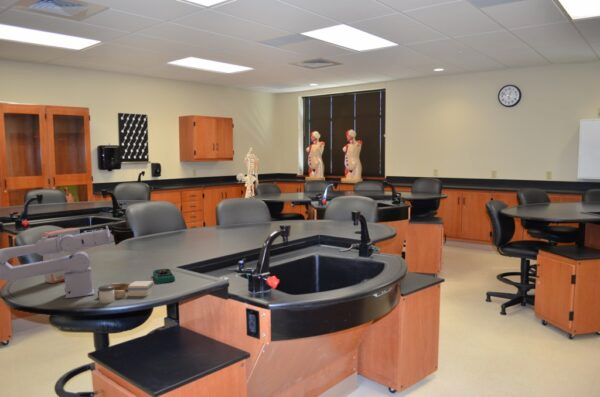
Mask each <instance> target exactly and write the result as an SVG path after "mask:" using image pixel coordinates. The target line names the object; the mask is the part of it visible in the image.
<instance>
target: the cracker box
mask: <svg viewBox="0 0 600 397" xmlns="http://www.w3.org/2000/svg"><path fill="white" fill-rule="evenodd" d="M65 234H67V235H68V234H70V235H73V236H74V235H75V234H81V230H80V228H75V227H70V228H66V229H65V228H64V229H59V230H52V231H46V232H41V233H40V240H42V238H44V237H46V239H48V238H55V237H58V236H59V235H61V237H62V236H63V235H65ZM77 251H82V248H80V249H75V250H74V251H72V252H66V251H61V252H59V253H53V254H47V255H42V261H46V260H52V259H58V258H62V257H65V256H68V255H72V254H74V253H75V252H77ZM66 272H67V271H61V272H55V273H50V274H45V275H44V279H45V280H44V282H45V283H49V284H57V283H60V282H65V273H66ZM69 272H70V271H69Z"/></svg>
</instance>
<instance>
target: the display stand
mask: <svg viewBox="0 0 600 397" xmlns="http://www.w3.org/2000/svg"><path fill="white" fill-rule="evenodd" d="M132 283H133V282H110V283H109V284H108V285H114V295H115V299H123V298H126V291H128V286H129V285H130V284H132ZM97 298H98V299H99V290H97Z"/></svg>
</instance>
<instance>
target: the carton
mask: <svg viewBox="0 0 600 397" xmlns="http://www.w3.org/2000/svg"><path fill="white" fill-rule="evenodd" d="M131 283H132V284H130V285H129V286H128V290H127V291H128V297H148V296H149V295H150V294H151V292H152V291H153V290H154V281H153V280H134V281H132V282H131ZM154 291H155V290H154ZM154 291H153V292H154ZM153 292H152V293H153ZM147 295H148V296H147Z"/></svg>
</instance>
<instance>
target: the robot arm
mask: <svg viewBox="0 0 600 397" xmlns="http://www.w3.org/2000/svg"><path fill="white" fill-rule="evenodd" d="M134 232H135V231H134V230H132V228H131V227H130V228H129V227H125V228H124V227H116V226H111V230H110V229H109V225H106V226H105V229H99V230H94V231H85V232H80V234H75V235H74V236H73V235H70V234H68V235H67V234H65V235H63V236H62V237H61V235H59V236H58V237H55V238H48V239H46V237H44V238H42V240H41V239H38V240H37V241H36V242H35V243H33V244H25V245H20V246H19V245H17V246H9V247H5V248H0V280H2V281H5V282H11V281H18V280H22V279H27V278H33V277H39V276H43V275H44V276H45V274H50V273H55V272H61V271H67V272H66V273H65V280H64V293H65V299H69V298H70V299H71V298H77V297H78V298H79V297H86V296H94V295H95V290H94V286H93V273H92V267H90V263H91V262H90V256H89V254H88V253H87V252H86V251H85V250H84V251H83V250H81V251H77V252H75V253H74V254H72V255H68V256H65V257H62V258H58V259H52V260H46V261H43V260H42V261H41V260H40V261H36V262H30V263H24V264H19V265H14V266H13V265H12V264H10V263H9V262H8V261H9V260H10V259H12V258H13V259H14V258H18V257H22V256H28V255H32V254H37V255H39V256H42V257H43V255H47V254H53V253H59V252H61V251H66V252H72V251H74V250H75V249H80V248H81V249H87V248H92V247H99V246H105V245H111V244H112V243H113V242H114V245H115V246H118V245H119V244H120V243H122V242H124V241H126V240H129V239H131V238H133V237H135V234H134ZM69 271H70V272H69Z"/></svg>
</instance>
